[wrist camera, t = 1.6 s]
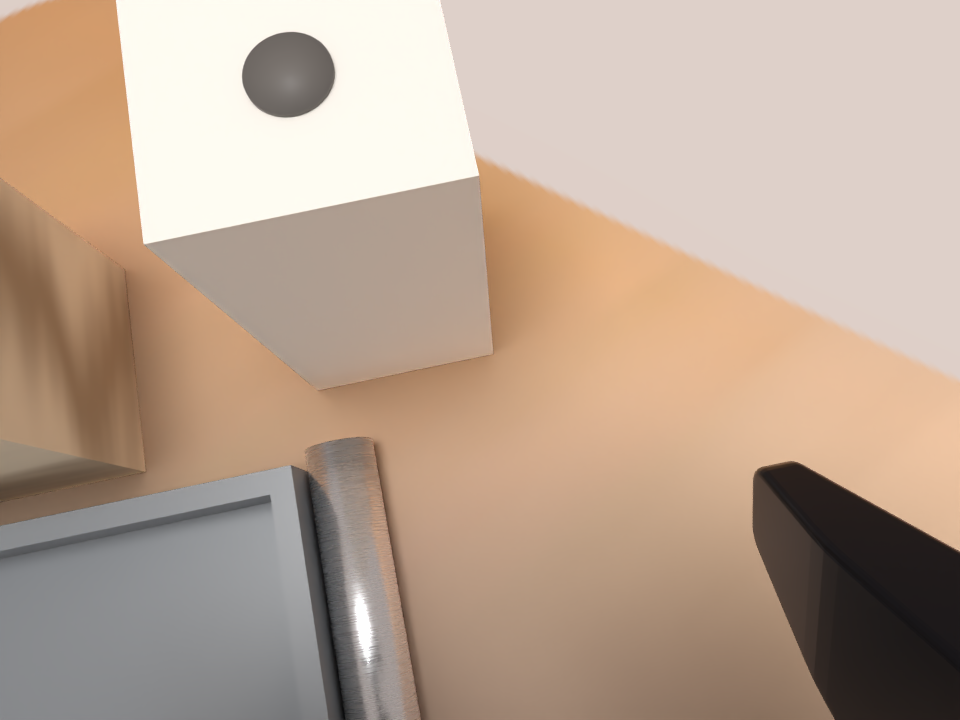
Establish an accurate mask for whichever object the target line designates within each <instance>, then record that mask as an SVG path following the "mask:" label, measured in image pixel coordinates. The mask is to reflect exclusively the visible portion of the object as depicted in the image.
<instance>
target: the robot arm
mask: <svg viewBox="0 0 960 720" xmlns="http://www.w3.org/2000/svg"><path fill="white" fill-rule="evenodd" d="M753 534H754V538H755V542H756V545H757V548H758V550H759V553H760V555H761V558H762V560H763V562H764V565H765V567H766V569H767V572H768V574H769V577H770V579H771V581H772V584H773V586H774V589H775V591H776V593H777V596H778V598H779V600H780V603H781V605H782V608H783V610H784V612H785V615H786V617H787V619H788V622H789V624H790V627H791V629H792V631H793V634H794V636H795V638H796V641H797V643H798V646H799V648H800V650H801V653H802V655H803V657H804V660H805V662H806V664H807V666H808V669H809V671H810V673H811V675H812V678H813V680H814V682H815V684H816V686H817V688H818V689H819V691H820V693H821V695H822V697H823V699H824V701H825V703H826V705H827V706H828V708H829V710H830V712H831V714H832V715H833V717H834V719H835V720H960V551H958V550H956V549H954V548H952V547H951V546H949V545H947V544H945V543H943V542H942V541H940V540H938V539H936V538H934V537H932V536H931V535H929V534H927V533H925V532H923V531H922V530H920V529H918V528H916V527H914V526H913V525H911V524H909V523H907V522H905V521H904V520H902V519H900V518H898V517H896V516H895V515H893V514H891V513H889V512H887V511H885V510H884V509H882V508H880V507H878V506H876V505H875V504H873V503H871V502H869V501H867V500H866V499H864V498H862V497H860V496H858V495H857V494H855V493H853V492H851V491H849V490H847V489H846V488H844V487H842V486H840V485H838V484H837V483H835V482H833V481H831V480H829V479H828V478H826V477H824V476H822V475H820V474H819V473H817V472H815V471H813V470H811V469H810V468H808V467H806V466H804V465H802V464H800V463H797V462H794V461H788V462H783V463H779V464H774V465H769V466H764V467H761V468H759V469H758V470H757V471H756V472H755V474H754V478H753Z"/></svg>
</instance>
